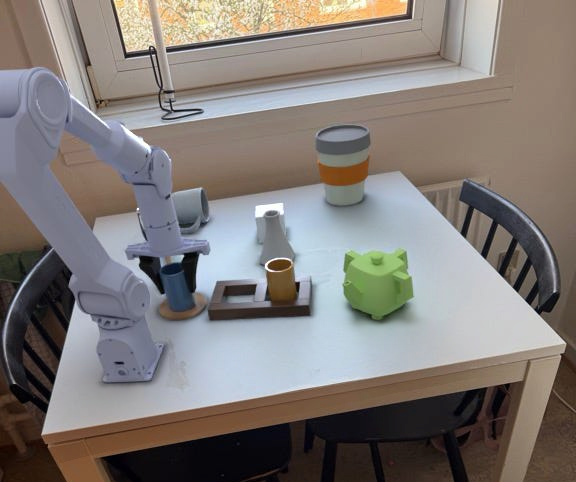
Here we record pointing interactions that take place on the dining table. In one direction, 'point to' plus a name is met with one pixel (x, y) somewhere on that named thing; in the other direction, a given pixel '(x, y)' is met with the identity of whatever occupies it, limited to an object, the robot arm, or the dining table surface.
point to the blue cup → (176, 287)
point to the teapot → (377, 281)
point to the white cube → (262, 223)
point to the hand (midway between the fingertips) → (178, 291)
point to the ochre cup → (281, 279)
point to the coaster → (192, 312)
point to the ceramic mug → (191, 208)
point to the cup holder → (258, 300)
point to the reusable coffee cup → (343, 162)
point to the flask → (275, 239)
